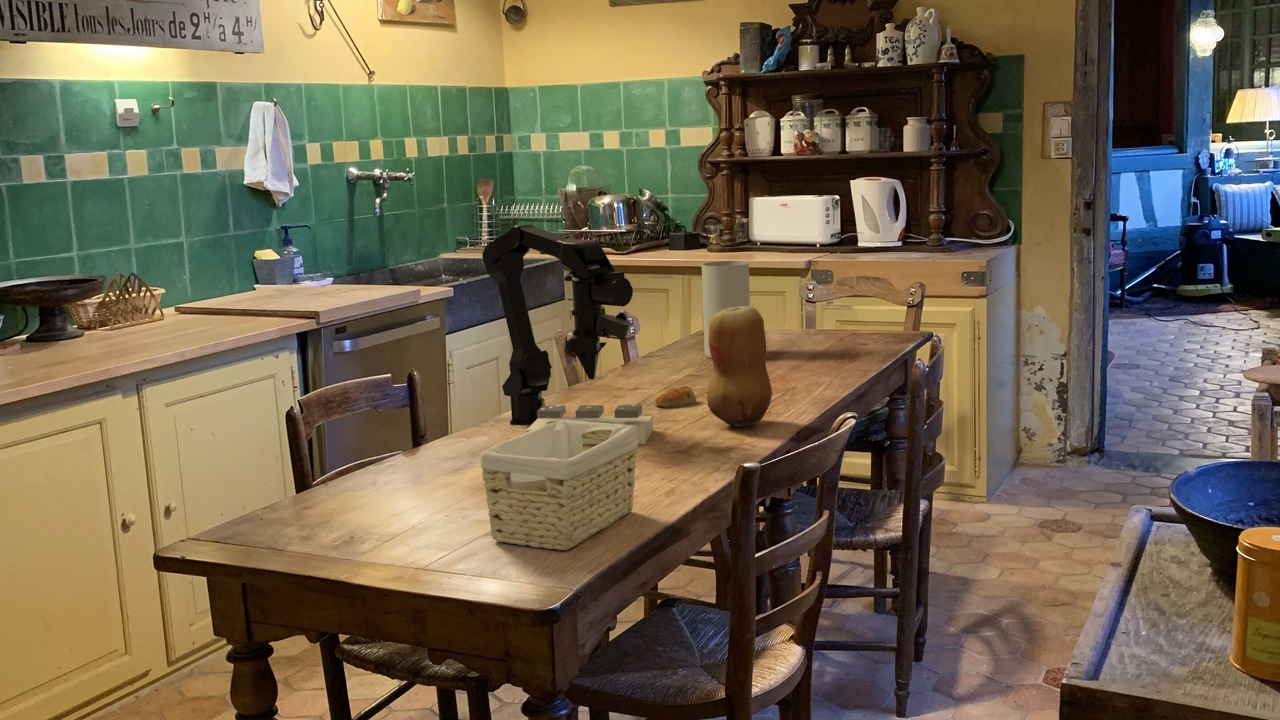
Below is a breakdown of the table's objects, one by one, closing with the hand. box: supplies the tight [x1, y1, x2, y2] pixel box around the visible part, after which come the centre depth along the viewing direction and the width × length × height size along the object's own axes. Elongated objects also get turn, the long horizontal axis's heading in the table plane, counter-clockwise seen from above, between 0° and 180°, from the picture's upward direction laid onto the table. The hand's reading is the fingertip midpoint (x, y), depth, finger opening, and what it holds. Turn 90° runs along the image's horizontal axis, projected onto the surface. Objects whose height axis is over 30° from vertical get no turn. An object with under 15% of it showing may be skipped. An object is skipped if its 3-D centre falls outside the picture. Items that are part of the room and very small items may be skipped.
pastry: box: [654, 385, 697, 409], centre depth 275 cm, size 9×7×4 cm
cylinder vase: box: [701, 260, 751, 360], centre depth 326 cm, size 12×12×25 cm
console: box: [526, 415, 654, 445], centre depth 249 cm, size 24×11×3 cm, turn 80°
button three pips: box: [537, 404, 567, 418], centre depth 249 cm, size 5×5×2 cm
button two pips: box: [614, 404, 643, 418], centre depth 247 cm, size 5×5×2 cm
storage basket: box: [480, 420, 639, 551], centre depth 193 cm, size 24×16×15 cm
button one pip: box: [575, 404, 605, 418], centre depth 248 cm, size 5×5×2 cm
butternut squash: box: [706, 305, 773, 428], centre depth 250 cm, size 14×13×25 cm
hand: (591, 379), depth 249 cm, fingers closed
